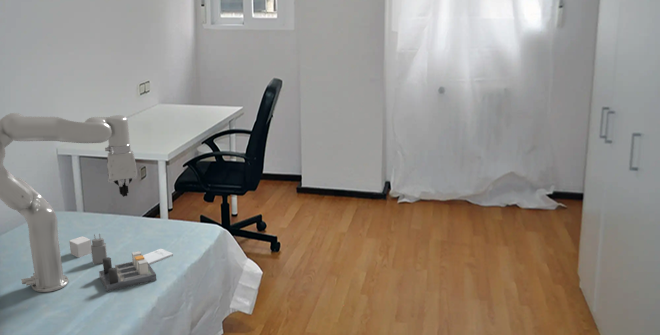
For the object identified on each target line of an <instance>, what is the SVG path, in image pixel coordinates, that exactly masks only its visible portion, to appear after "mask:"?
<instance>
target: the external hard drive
mask: <svg viewBox="0 0 660 335" xmlns="http://www.w3.org/2000/svg"><path fill="white" fill-rule="evenodd" d="M142 255H143V257H144V260H146V261H147V262H148V264H149V265H150V266H151V265H153V264H155V263H158V262H162V261H163V260H166V259H169V258H170V257H173V256H174V253H173V252H171V251H168V250H166V249H164V248H158V249H156V250H154V251H150V252H148V253H145V254H142Z"/></svg>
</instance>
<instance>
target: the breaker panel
mask: <svg viewBox="0 0 660 335" xmlns="http://www.w3.org/2000/svg"><path fill="white" fill-rule="evenodd" d="M114 268H117V274H118V282H117V283H115V284H111V283H110V281H109V273H104V269H103V270H100V271H98V274H99V279H100V281H101V282H102V285H103V287H104V288H105V290H106V292H111V291H116V290H120V289H125V288H128V287H133V286H137V285H142V284H147V283H150V282H154V281H157V274H156V272H155V271H154V269H153V268H152V266H151V265H149V264H148V272H149V273H146V274H142V275H139V270H136V266H135V265H134V266H133V261H129V262H124V263H120V264H115V265H114Z"/></svg>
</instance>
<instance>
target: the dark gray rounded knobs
mask: <svg viewBox="0 0 660 335" xmlns="http://www.w3.org/2000/svg"><path fill="white" fill-rule="evenodd" d="M102 265H103V266H102V268H103V270H104V273H109V281H110V283H111V284H115V283H117V282H118V274H117V268H115V267H113V266H112V265H113V264H112V258H111V257H108V256H107V257H106V258H103V263H102Z"/></svg>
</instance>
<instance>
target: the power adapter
mask: <svg viewBox="0 0 660 335" xmlns="http://www.w3.org/2000/svg"><path fill="white" fill-rule="evenodd" d="M93 236H94V238H93V239H91V251H92V253H91V258H92V264H93V265H97V264H98V265H99V264H100V265H101V264H103V258H106V257H108V252H107V243H105V241H104V240H105V239H104V238H102V237H101V234H100V233H99V234H98V236H99V238H96V233H94V234H93Z"/></svg>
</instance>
